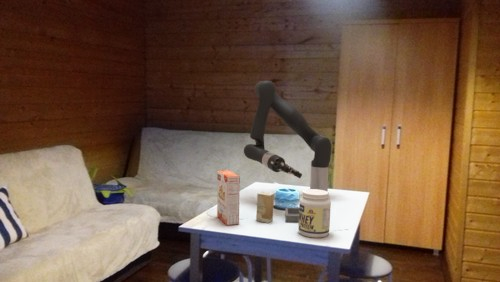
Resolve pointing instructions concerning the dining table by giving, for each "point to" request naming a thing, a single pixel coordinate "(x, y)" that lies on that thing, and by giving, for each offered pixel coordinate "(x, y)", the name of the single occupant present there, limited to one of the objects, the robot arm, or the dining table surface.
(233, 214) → the cracker box
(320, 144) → the robot arm
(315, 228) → the supplement tub
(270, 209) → the skincare box
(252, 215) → the dining table surface
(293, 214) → the tray
